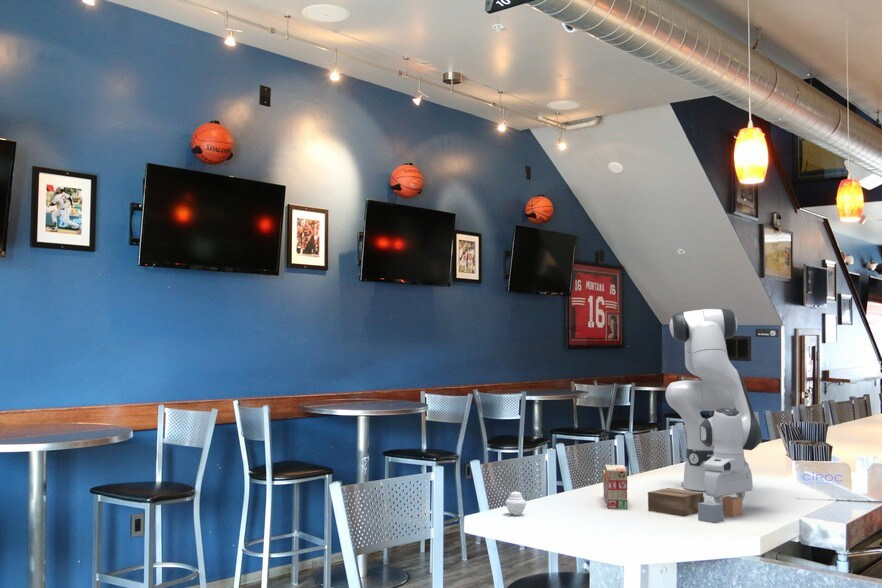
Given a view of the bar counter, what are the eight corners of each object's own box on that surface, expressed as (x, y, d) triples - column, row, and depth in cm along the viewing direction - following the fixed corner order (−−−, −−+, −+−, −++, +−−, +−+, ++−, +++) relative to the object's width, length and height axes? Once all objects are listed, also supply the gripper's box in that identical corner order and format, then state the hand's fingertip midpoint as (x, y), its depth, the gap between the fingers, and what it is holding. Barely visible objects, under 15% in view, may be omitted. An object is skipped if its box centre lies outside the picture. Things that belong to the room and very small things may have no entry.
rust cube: (727, 512, 244) (727, 495, 245) (742, 515, 240) (741, 498, 241) (718, 514, 241) (717, 497, 242) (732, 517, 237) (732, 500, 238)
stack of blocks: (603, 497, 270) (602, 460, 271) (621, 498, 269) (621, 461, 270) (607, 509, 249) (607, 469, 250) (628, 509, 248) (627, 469, 249)
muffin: (523, 517, 235) (523, 493, 235) (503, 515, 237) (503, 492, 238) (528, 513, 241) (528, 490, 241) (508, 512, 243) (508, 488, 243)
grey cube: (708, 518, 235) (707, 501, 235) (723, 521, 231) (722, 503, 231) (698, 520, 232) (697, 503, 232) (713, 523, 228) (712, 505, 228)
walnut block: (668, 507, 254) (668, 487, 255) (703, 512, 245) (703, 492, 246) (648, 511, 246) (647, 492, 246) (683, 517, 237) (683, 497, 238)
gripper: (738, 459, 251) (739, 503, 250) (700, 464, 238) (701, 510, 237) (757, 461, 246) (758, 506, 245) (718, 466, 233) (719, 514, 232)
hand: (729, 508), depth 241 cm, fingers open, 8 cm apart
